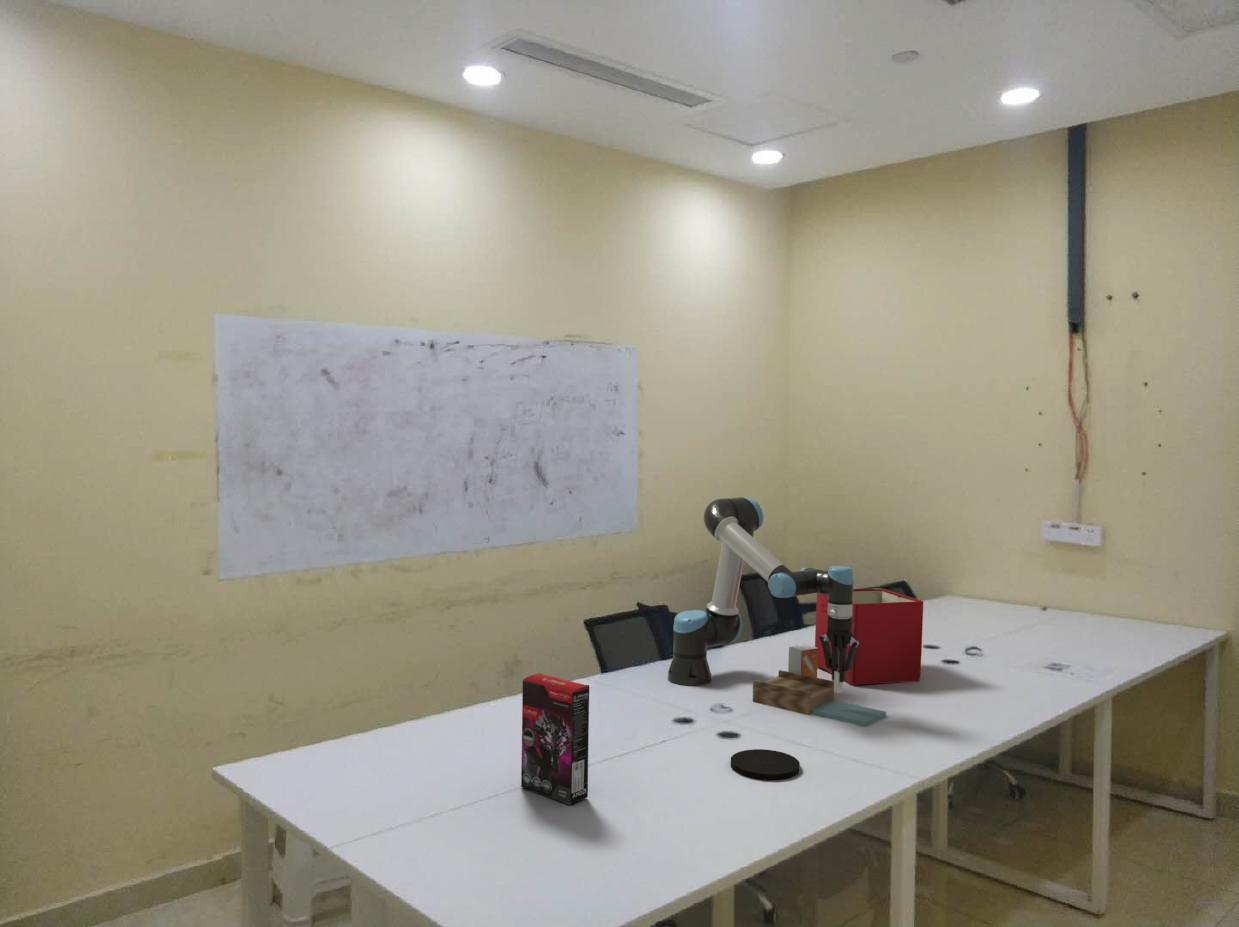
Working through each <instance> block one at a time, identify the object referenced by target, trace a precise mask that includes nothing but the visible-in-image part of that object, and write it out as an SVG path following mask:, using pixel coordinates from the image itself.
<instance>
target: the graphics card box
mask: <svg viewBox="0 0 1239 927" xmlns="http://www.w3.org/2000/svg"><path fill="white" fill-rule="evenodd" d="M521 695H522V698H521V700H522V703H521V704H522V706H521V707H522V708H521V710H522V711H521V713H522V714H521V717H522V718H521V720H522V721H521V724H522V725H521V727H522V728H521V777H520V778H521V779H520V781H521V782H520V783H521V784H520V787H521V788H523V789H526V790H529V791H531V792H534V793H538V794H541V795H542V796H545V797H549V798H551V799H554V800H556V801H560V802H562V803H564V804H568V805H573V804H575V803H578V802H580V801H582V800H584V799H587V798H588V797H589V794H588V793H589V791H588V790H589V784H588V783H589V736H590V734H589V730H590V729H589V726H590V725H589V724H590V723H589V722H590V685H589V684H584V683H583V684H582V683H581V682H580V683H578V682H574V681H572V680H571V681H570V680H567V679H564V678H560V677H556V676H552V675H548V674H544V673H535V674H532V675H528V676H526V677H525V678H523V679H522V694H521Z"/></svg>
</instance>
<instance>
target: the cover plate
mask: <svg viewBox="0 0 1239 927" xmlns="http://www.w3.org/2000/svg"><path fill="white" fill-rule="evenodd" d="M810 715H814V716H818V717H821V718H822V717H823V718H827V719H829V720H830V719H831V720H835V721H839V722H843V723H847V724H851V725H855V726H859V727H863V728H866V727H868V726H870V725H872V724H874V723H876V722H878V721H879V720H881V719H883V718H885V717H886V715H887V711H884V710H880V709H878V708H877V709H876V708H872V707H867V706H862V705H859V704H854V703H851V702H846V701H841V700H836V699H834V700H831V701H829V702H826V703H824V704H822V705H820V706H818V707H815V708H813V709H811V714H810Z"/></svg>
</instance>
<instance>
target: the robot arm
mask: <svg viewBox="0 0 1239 927" xmlns="http://www.w3.org/2000/svg"><path fill="white" fill-rule="evenodd" d="M763 522H764V512H763V509H762V508H761V505H760V504H759V502H758V501H757V500H755V499H754V498H752V497H744V496H741V497H730V498H717V499H714V500H712V501H711V502H710V503H709V504H708V505H707V506H706V508H705V510H704V512H703V523H704V526H705V528H706V530H707V531H708V532H709V534H710V535H711V536H713V538H715V539H716V541H718V542H722V543H721V550H720V553H719V554H720V555H719V559H718V566H717V568H716V569H717V571H716V576H715V581H714V588H713V592H712V598H711V601H710V602H707V604H706V607H705V611H704V610H700V609H693V610H684V611H681V612H679V613H677V614H676V615H675V616H674V620H673V621H674V622H673V627H672V628H673V645H672V646H673V649H672V650H673V653H672V654H673V656H672V660H671V663H670V666H669V669H668V671H667V680H668V681H669V682H671V683H673V684H678V685H682V686H683V685H684V686H700V685H701V686H702V685H706V684H709V683H711V681H712V672H711V669H710V666H709V661H708V657H707V656H708V655H707V654H708V653H707V651H708V648H710V647H712V648H713V647H716V646H722V645H723V646H724V645H725V646H726V645H729V644H732V643H734V642H736V641H737V640H738V639H740V637H741V635H742V632H743V628H744V623H743V620H742V619H743V618H742V616H741V614H740V609H739V608H738V607H737V600H738V596H739V590H740V584H741V579H742V574H743V568H744V563H746V564H747V565H748V566H750V568H752V569H753V570H754V571H756V573H757V574H759V576H760V577H762V578H763V579H764V580H765V581H766V582H767V587H768V590H769V592H770V594H771V596H773V597H775V598H778V599H780V598H784V599H786V598H793V597H797V596H798V597H799V596H805V595H811V594H817V593H818V594H824V595H828V615H829V616H828V618H827V627H828V630H827V632H826V634H825V635H823V636H820V637H819V639H820V641H821V643H822V647H823V652H824V657H825V663H826V667H827V668H830V669H831V670H832V673H831V681H834V694H835V693H836V694H840V693H841V692H843V683H844V682H846V681H845V672H846V671H849V670H851V668H852V664H853V661H854V657H855V653H856V649H857V647H858V646H859V644H860V642H859V641H856V640H855V639H854V638H853V635H852V618H851V616H852V615H853V601H852V597H853V589H854V582H855V581H854V571H853V569H852V568H851V567H849V566H845V565H832V566H829V568H828V570H823V569H817V568H814V567H801V568H800V569H799V570H798V571H796V570H795V571H792V570H791V569H789V568H788V567H787V566H786V565H785V564H784V563H782V561H781V560H780V559H778V558H777V557H776V556H775V555H773V554H772V552H770V551H769V550H768V549H767V548H765V547H764V546H763V545H762V544H761V543H760V542H759V541H757V539H756V538H754V534H755V531H757V530H758V529H760V528H761V527H762V525H763ZM828 640H830V642H831V649H832V656H831V650H830V645H829V641H828ZM849 642H851V643H850V646H851V647H850V649H849V653H848V657H847V660H846V650H847V645H848V644H849ZM838 663H839V667H838ZM838 669H839V670H838Z"/></svg>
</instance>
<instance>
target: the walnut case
mask: <svg viewBox="0 0 1239 927" xmlns="http://www.w3.org/2000/svg"><path fill="white" fill-rule="evenodd" d="M777 673H778V675H777V676H776V677H774V678H770V679H768V680H765V681H763V680H757V679H753V680H752V702H753V703H756V704H761V705H764V706H768V707H773V708H777V709H781V710H786V711H790V712H793V713H794V712H795V713H798V714H803V715H807V716H809V715H812V714H811V709H813V708H815V707H818V706H820V705H822V704H824V703H826V702H829V701H831V700H835V692H834V681H833V680H830V679H825V678H819V677H817V678H816V677H811V676H806V675H801V674H797V673H792V672H788V670H787V671H785V670H781V669H779V670H778V672H777Z"/></svg>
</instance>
